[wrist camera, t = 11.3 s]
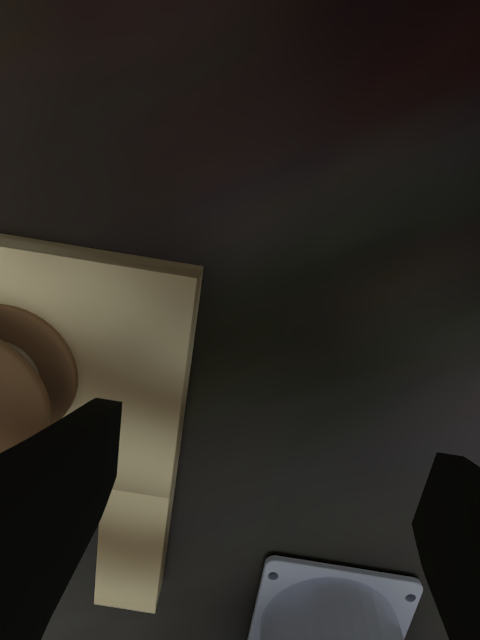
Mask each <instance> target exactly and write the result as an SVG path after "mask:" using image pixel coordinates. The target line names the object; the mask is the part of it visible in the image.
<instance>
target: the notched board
mask: <svg viewBox="0 0 480 640" xmlns="http://www.w3.org/2000/svg"><path fill="white" fill-rule="evenodd" d="M203 269H204V266H199V265H193V264H186V263H180V262H174V261H168V260H162V259H156V258H149V257H143V256H137V255H131V254H125V253H119V252H112V251H106V250H100V249H94V248H88V247H82V246H75V245H69V244H63V243H57V242H51V241H45V240H38V239H32V238H26V237H20V236H14V235H8V234H1V233H0V453H1V452H3V451H5V450H7V449H9V448H11V447H13V446H15V445H16V444H18V443H20V442H22V441H24V440H26V439H28V438H29V437H31V436H33V435H35V434H36V433H38V432H40V431H41V430H43V429H45V428H46V427H48V426H50V425H51V424H53V423H55V422H56V421H58V420H60V419H61V418H63V417H65V416H66V415H68V414H69V413H71V412H73V411H74V410H76V409H77V408H79V407H81V406H82V405H84V404H86V403H87V402H89V401H91V400H92V399H94V398H102V399H108V400H114V401H121V402H122V415H121V428H120V441H119V454H118V467H117V477H116V480H115V483H114V486H113V488H112V491H111V494H110V497H109V500H108V502H107V505H106V508H105V510H104V513H103V516H102V518H101V520H100V522H99V533H98V548H97V564H96V580H95V595H94V604H97V605H103V606H110V607H116V608H122V609H129V610H135V611H141V612H148V613H154V614H155V611H156V607H157V603H158V598H159V594H160V590H161V586H162V582H163V577H164V569H165V561H166V554H167V546H168V538H169V531H170V523H171V515H172V507H173V500H174V492H175V484H176V477H177V469H178V461H179V454H180V446H181V438H182V430H183V423H184V415H185V407H186V400H187V392H188V384H189V376H190V369H191V361H192V353H193V346H194V338H195V330H196V322H197V315H198V307H199V299H200V292H201V284H202V276H203Z"/></svg>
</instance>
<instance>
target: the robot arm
mask: <svg viewBox="0 0 480 640" xmlns="http://www.w3.org/2000/svg"><path fill="white" fill-rule="evenodd" d="M121 415H122V402H121V401H114V400H108V399H102V398H94V399H92V400H91V401H89V402H87V403H86V404H84V405H82V406H81V407H79V408H77V409H76V410H74V411H73V412H71V413H69V414H68V415H66V416H65V417H63V418H61V419H60V420H58V421H56V422H55V423H53V424H51V425H50V426H48V427H46V428H45V429H43V430H41V431H40V432H38V433H36V434H35V435H33V436H31V437H29V438H28V439H26V440H24V441H22V442H20V443H18V444H16V445H15V446H13V447H11V448H9V449H7V450H5V451H3V452H1V453H0V640H41V638H42V636H43V634H44V632H45V629H46V627H47V625H48V623H49V621H50V619H51V616H52V614H53V612H54V610H55V608H56V606H57V604H58V603H59V601H60V599H61V597H62V595H63V593H64V591H65V589H66V587H67V585H68V583H69V581H70V579H71V577H72V575H73V573H74V571H75V569H76V567H77V565H78V563H79V562H80V560H81V558H82V556H83V554H84V552H85V550H86V548H87V546H88V544H89V542H90V540H91V538H92V536H93V534H94V532H95V530H96V528H97V526H98V524H99V522H100V520H101V518H102V516H103V513H104V510H105V508H106V505H107V502H108V500H109V497H110V494H111V491H112V488H113V486H114V483H115V480H116V477H117V467H118V454H119V441H120V428H121ZM412 527H413V531H414V536H415V540H416V545H417V549H418V553H419V557H420V561H421V565H422V568H423V571H424V574H425V577H426V579H427V582H428V585H429V587H430V590H431V593H432V595H433V598H434V601H435V603H436V606H437V609H438V611H439V614H440V616H441V619H442V622H443V624H444V627H445V629H446V632H447V635H448V637H449V640H480V467H479V466H477V465H476V464H474V463H473V462H471V461H470V460H468V459H467V458H465V457H463V456H457V455H450V454H444V453H438V452H437V454H436V456H435V459H434V462H433V465H432V468H431V471H430V473H429V476H428V479H427V482H426V485H425V488H424V490H423V493H422V496H421V499H420V502H419V505H418V507H417V510H416V513H415V516H414V519H413V522H412ZM271 572H275V573H271ZM422 592H423V587H422V584H421V582H420V580H419V579H417V578H414V577H409V576H402V575H396V574H390V573H384V572H377V571H371V570H365V569H358V568H352V567H346V566H340V565H333V564H327V563H321V562H314V561H308V560H302V559H296V558H289V557H283V556H277V555H272V556H269V557H268V558H266V560H265V563H264V567H263V572H262V576H261V581H260V585H259V590H258V594H257V598H256V603H255V607H254V612H253V616H252V621H251V625H250V630H249V634H248V638H247V640H404V639H405V636H406V634H407V631H408V628H409V626H410V623H411V621H412V618H413V615H414V613H415V610H416V608H417V605H418V603H419V600H420V597H421V595H422ZM409 594H410V595H409Z"/></svg>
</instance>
